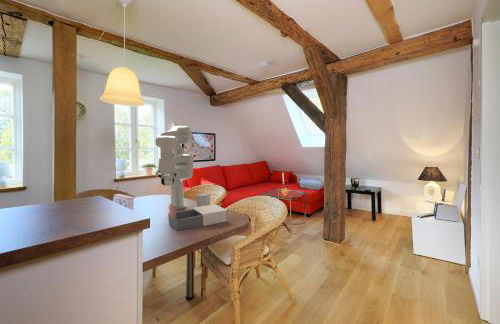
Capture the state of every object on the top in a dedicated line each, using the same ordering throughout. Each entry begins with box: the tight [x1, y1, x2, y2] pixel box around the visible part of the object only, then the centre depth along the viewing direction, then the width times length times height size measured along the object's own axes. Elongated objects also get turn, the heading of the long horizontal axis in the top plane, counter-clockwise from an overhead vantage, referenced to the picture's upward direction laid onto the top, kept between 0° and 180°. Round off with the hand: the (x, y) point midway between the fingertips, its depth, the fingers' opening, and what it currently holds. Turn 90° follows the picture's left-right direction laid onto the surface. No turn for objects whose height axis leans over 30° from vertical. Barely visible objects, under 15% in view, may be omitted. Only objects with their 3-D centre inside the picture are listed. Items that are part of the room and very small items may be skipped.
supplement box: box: [196, 192, 211, 207], centre depth 174 cm, size 7×7×13 cm
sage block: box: [163, 174, 173, 187], centre depth 155 cm, size 5×5×6 cm
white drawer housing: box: [191, 203, 228, 227], centre depth 157 cm, size 18×16×7 cm
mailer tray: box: [168, 203, 203, 231], centre depth 148 cm, size 16×19×13 cm
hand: (167, 184), depth 155 cm, fingers closed on sage block, 5 cm apart
